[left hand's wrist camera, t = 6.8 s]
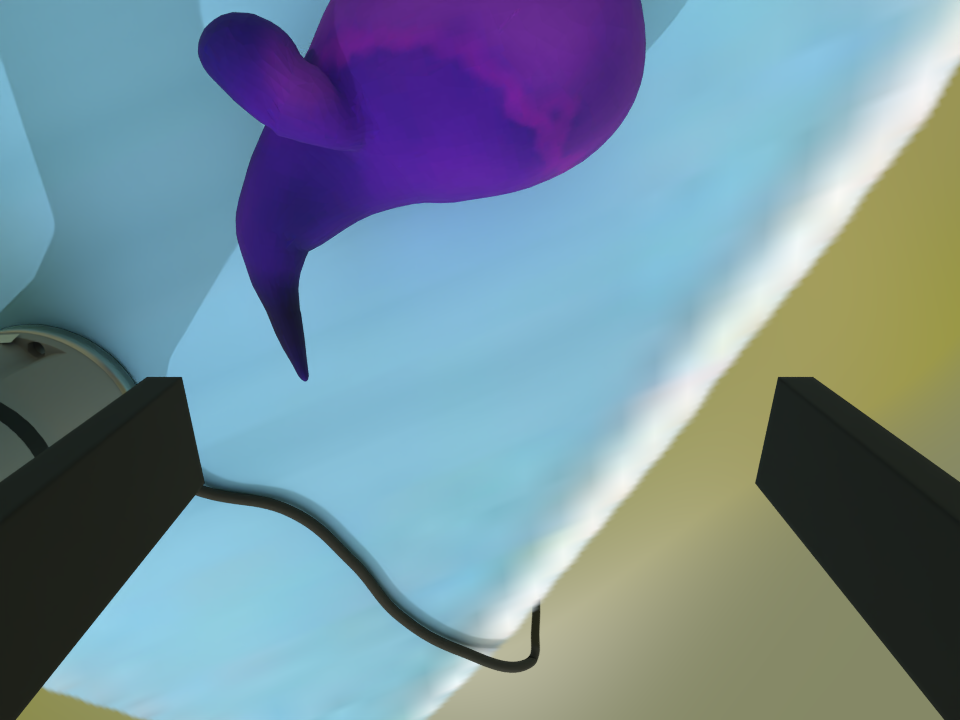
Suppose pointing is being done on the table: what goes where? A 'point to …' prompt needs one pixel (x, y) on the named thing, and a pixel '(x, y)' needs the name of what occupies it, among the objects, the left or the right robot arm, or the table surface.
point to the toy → (411, 115)
